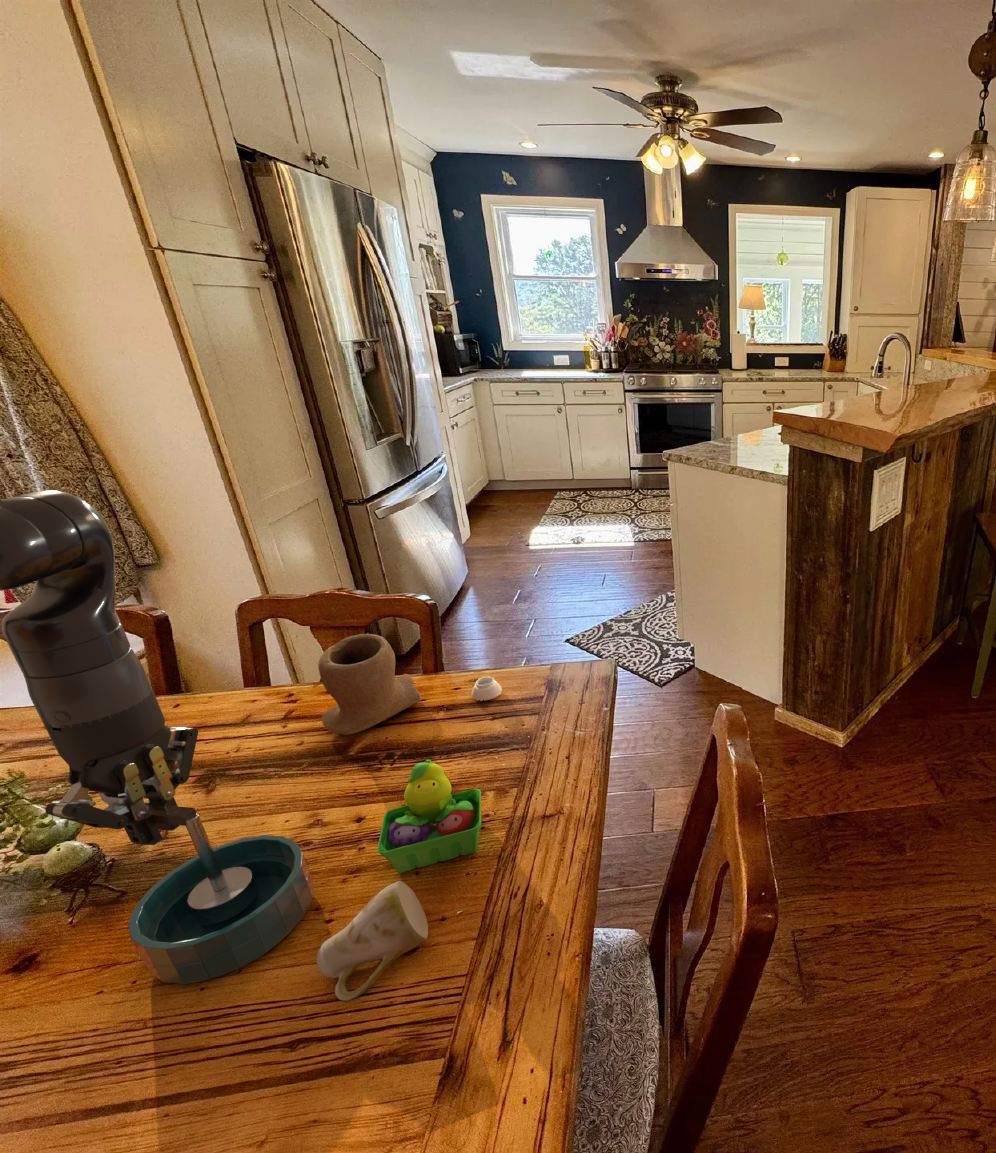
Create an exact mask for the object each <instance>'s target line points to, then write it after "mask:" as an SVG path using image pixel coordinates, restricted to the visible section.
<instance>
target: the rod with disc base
mask: <svg viewBox="0 0 996 1153" xmlns="http://www.w3.org/2000/svg"><path fill="white" fill-rule="evenodd" d="M145 805H146V807H147V810H148V814H152V817H153V819H154V821H155V823H160V824H172V825H180V826H183V827H184V826H185V828H186V830H187V832H188V835H189V838H190V839H191V842H192V844H193V846H194V848H195V851H196V853H197V856H199V858H200V860H201V862H202V865H203V867H204V869H205V872H206V874H207V876H208V877H207V878H205V879H204V880H203V881H201V882H200V883H199V884H198V885H196V886H195V887H194V889H193V890H192V891H191V892H190V894H189V896H188V899H187V903H188V905H189V908H190V910H191V912H192V914H193V916H194V918H195V920H196V921H197V922H198V923H201V924H214V923H218V922H222V921H224V920H227V919H229V918H231V917H233V916H235V915H237V914H238V913H240V912H241V911H243V910H244V909H245V908H247V907H248V906H249V905H250V904H251V903H252V902H253V900H254V899H255V897H256V896H257V893H258V886H257V884H256V881H255V879H254V876H253V873H252V871H251V870H250V869H248V868H246V867H231V868H227V869H224V870H221V867H220V865H219V862H218V860H217V858H216V855H215V853H214V851H213V848H214V847H213V846H212V843H211V841H210V839H209V837H208V834H207V832H206V829H205V827H204V824H203V822H202V820H201V817H200V815H199V813H197V810H196V808H195V807H191V806H190V807H189V806H178V805H177V806H167V805H153V804H145ZM102 810H106V811H109V812H111V810H110V807H109V805H107V806H106V807H105V808H104V809H102Z"/></svg>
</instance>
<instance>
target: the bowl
mask: <svg viewBox="0 0 996 1153" xmlns="http://www.w3.org/2000/svg"><path fill="white" fill-rule="evenodd" d="M212 848H213V851H214V853H215V855H216V858H217V860H218V862H219V865H220V867H221V870H224V869H227V868H231V867H246V868H248V869H250V870H251V871H252V873H253V876H254V879H255V881H256V884H257V886H258V893H257V896H256V897H255V899H254V900H253V902H252V903H251V904H250V905H249V906H248V907H247V908H245V909H244V910H243V911H241V912H240V913H238V914H237V915H235V916H233V917H231V918H229V919H227V920H224V921H222V922H218V923H214V924H201V923H198V922H197V921H196V920H195V918H194V916H193V914H192V912H191V910H190V908H189V905H188V903H187V899H188V896H189V894H190V892H191V891H192V890H193V889H194V887H195V886H196V885H198V884H199V883H200V882H201V881H203V880H204V879H205V878H207V877H208V876H207V874H206V872H205V869H204V867H203V865H202V862H201V860H200V858H199V856H198V855H196V856H193V857H191V858H189V859H188V860H187V861H185V862H184V863H182V864H180V865H179V866H177V867H176V868H174V869H172V870H171V871H170V872H168V873H167V874H165V875H164V876H163V877H162V878H161V879H159V880H158V881H157V882H156V883H155V884H154V885H153V886H152V887H150V888H149V889H148V890H147V891H146V893H145V894H144V895H143V896H142V898H141V899H140V900H139V901H138V903H137V904H136V905H135V906H134V908H133V911H132V913H131V916H130V918H129V921H128V923H127V928H128V932H129V937H130V940H131V942H132V943H133V945H134V948H135V949H136V951H137V952H138V954H139V956H140V958H141V960H142V962H143V964H144V966H145V967H146V969H147V971H148V973H149V975H151V976H153V977H154V978H156V979H157V980H159V981H160V982H161V983H168V984H177V985H178V984H180V985H186V984H187V985H188V984H192V983H197V982H203V981H209V980H212V979H215V978H218V977H222V976H224V975H228V974H230V973H232V972H235V971H237V970H240V969H241V968H244V967H245V966H247V965H249V964H251V963H253V962H254V961H256V960H257V959H259V958H261V957H262V956H264V955H265V954H266V953H268V952H270V951H271V950H272V949H273V948H274V947H276V946H277V945H279V943H281V942H282V941H283V940H284V939H285V938H286V937H287V936H288V935H289V934H290V933H291V932H292V931H293V930H294V928H296V926H297V925H298V924H299V923H300V921H301V920H302V919H303V918H304V917H305V915H306V913H307V911H308V909H309V907H310V905H311V903H312V902H313V899H314V888H315V887H314V886H315V884H314V882H313V879H312V875H311V873H310V870H309V868H308V864H307V862H306V859H305V855H304V854H303V851H302V849H301V848H300V846H299V844H298V843H297V842H296V841H294V840H292V839H290V838H289V837H286V836H283V835H271V834H261V835H254V836H248V837H242V838H240V839H235V840H233V841H230V842H226V843H223V844H220V845H217V846H215V847H212Z"/></svg>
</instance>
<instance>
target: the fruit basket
mask: <svg viewBox="0 0 996 1153" xmlns="http://www.w3.org/2000/svg"><path fill="white" fill-rule="evenodd" d="M445 774H446V773H445V771H444V768H443V767H442V766H441V765H439V764H437V763H435V762H432V760H431V759H426V760H425V761H424V762H418V763H416V764H415V765H414V766H413V768H412V769H411V771H410V777H409V778H408V784H407V786H406V787H405V790H404V793H403V799H404V801H405V803H406V805H403V806H399V807H396V808H391V809H390V810H388V811H387V812H385V813H384V815H383V820H382V823H381V829H380V833H379V834H380V835H379V839H378V843H377V853H378V854H380V856H382V857H383V858H385V859H386V860H387V861H388V862H389V864H390V865H391V866H392V868H394V869H395V870H396V872H397V873H399V874H402V873H403V874H404V873H405V872H410V871H413V870H415V869H416V868H423V867H427V866H431V865H434V864H436V863H438V862H446V861H449V860H452V859H455V858H457V857H460V856H466V855H467V856H468V855H471V854H475V853H476V852H477V851H478V846H479V845H478V844H479V837H480V836H479V834H480V829H481V826H482V791H481V790H480V789H478V788H473V789H469V790H464V791H460V792H455V793H452V784H451V782H450V780H449V778H448V777H447V776H446V775H445ZM451 793H452V794H451Z"/></svg>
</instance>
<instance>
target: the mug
mask: <svg viewBox="0 0 996 1153" xmlns="http://www.w3.org/2000/svg"><path fill="white" fill-rule="evenodd" d="M428 935H429V923H428V919H427V916H426V913H425V911H424V908H423V906H422V904H421V902H420V901H419V898H418V896H417V895H416V893H415V892H414V890H413V889H412V888H411V887H410V886H408V885H407V884H406V883H405V882H403V881H402V880H398V881H396V882H394V883H392V884H391V883H390V884H388V885H387V886H386V887H384V888H382V889H381V890H379V891H378V892H377V893H376V894H375V895H374V896H373V897H372V898H371V899H370V900H369V901H368V902H367V903H366V904H365V905H364V906H363V908H362V909H361V910H360V911H359V912H358V914H357V915H356V916H355V917H354V918H353V919H352V920H351V921H350V922H349V923H348V924H347V925H346V926H345V927H344V928H342V929H341V930H339V931H338V932H337V933H335V934H334V935H332V936H331V937H329V938H328V939H326V940H324V941H323V942H322V944H321V945H320V947H319V950H318V952H317V954H316V965H317V968H318V970H319V972H320V973H321V974H322V975H323V976H324V977H327V978H331V979H338V980H337V983H336V984H335V987H334V995H335V997H336V998H337V999H338V1000H339V1001H342V1002H346V1001H351V1000H354V999H356V998H358V997H359V996H361V995H362V994H364V993H365V992H367V990H368V989H370V988H371V987H372V985H373V984H374V983H375V982H376V981H377V980H378V978H379V977H380V976H381V975H382V974H383V972H384V971H385V970H386V969H387V968H388V967H389V966H391V964H392V963H394V962H395V961H397V959H398V958H399V957H400V956H401V955H403V954H405V953H407V952H409V951H411V950H413V949H414V948H416V947H417V946H419V945H420V944H421V943H423V942H424V941H426V940H427V939H428ZM380 960H381V962H380V963H379V964H378V966H377V967H376V968H375V969H374V971H373V973H372V974H371V975H370V976H369V977H368V979H366V980H365V982H364V983H363V984H362V985H361V986H359V987H358V988H356V989H354V990H350V991H348V990H347V988H346V982H347V979H348V978H350V976H351V975H353V973H354V972H355V971H356V969H357V968H358V967H360V966H362V965H365V964H367V963H371V962H375V961H376V962H377V961H380Z"/></svg>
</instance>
